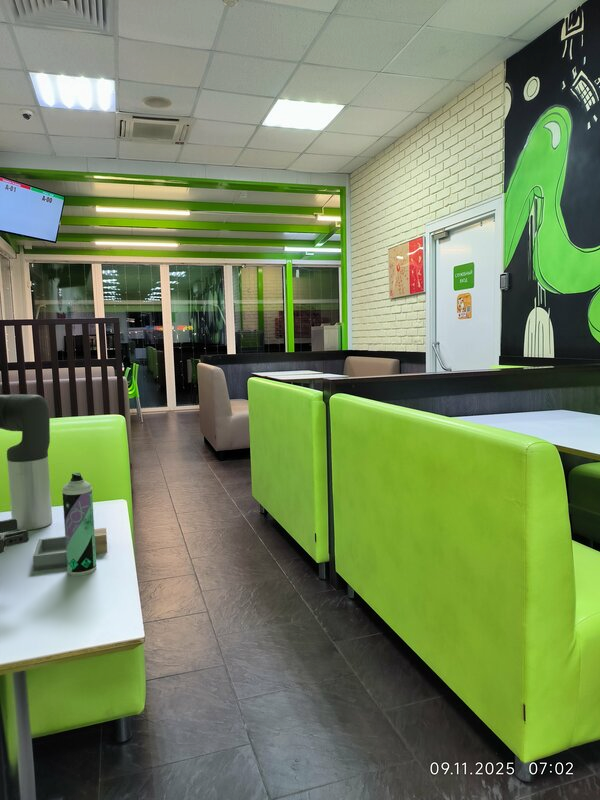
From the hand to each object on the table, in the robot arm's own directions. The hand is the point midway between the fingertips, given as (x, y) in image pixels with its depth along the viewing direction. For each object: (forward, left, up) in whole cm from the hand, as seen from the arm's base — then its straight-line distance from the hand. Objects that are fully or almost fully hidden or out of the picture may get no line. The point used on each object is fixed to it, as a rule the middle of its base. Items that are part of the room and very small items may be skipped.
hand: (22, 529), depth 105 cm
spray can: (-4, +10, -11) cm, 15 cm away
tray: (-12, +6, -11) cm, 17 cm away
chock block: (-14, +13, -11) cm, 22 cm away
